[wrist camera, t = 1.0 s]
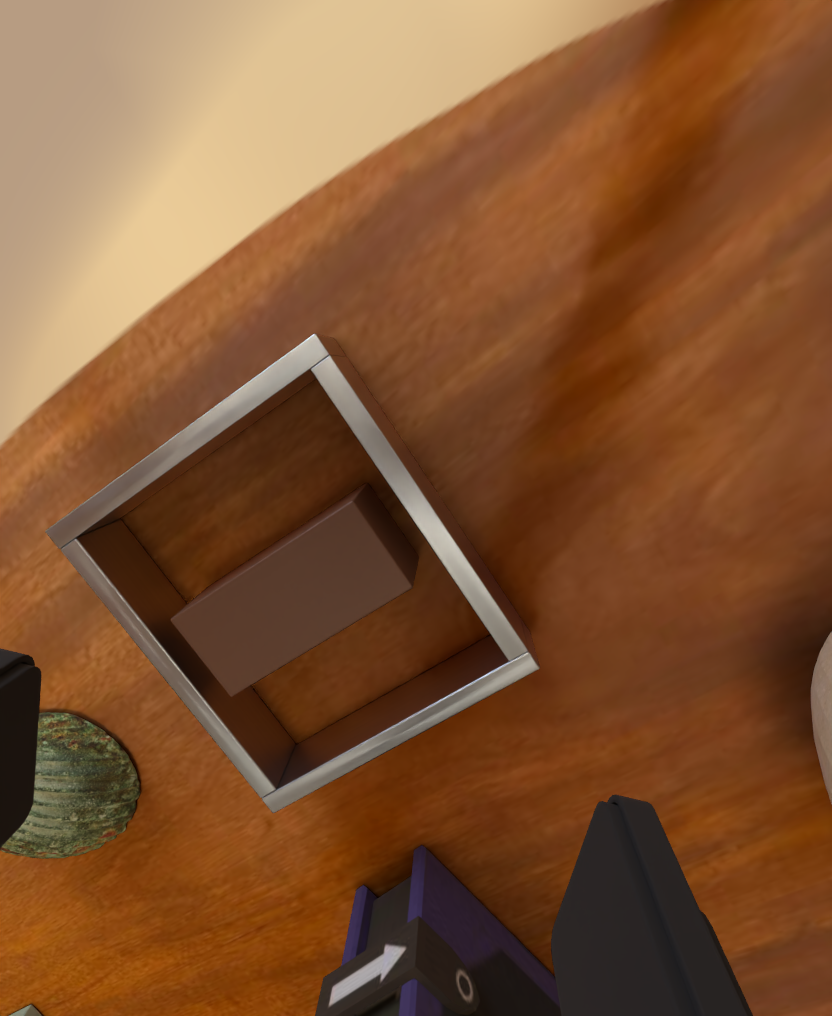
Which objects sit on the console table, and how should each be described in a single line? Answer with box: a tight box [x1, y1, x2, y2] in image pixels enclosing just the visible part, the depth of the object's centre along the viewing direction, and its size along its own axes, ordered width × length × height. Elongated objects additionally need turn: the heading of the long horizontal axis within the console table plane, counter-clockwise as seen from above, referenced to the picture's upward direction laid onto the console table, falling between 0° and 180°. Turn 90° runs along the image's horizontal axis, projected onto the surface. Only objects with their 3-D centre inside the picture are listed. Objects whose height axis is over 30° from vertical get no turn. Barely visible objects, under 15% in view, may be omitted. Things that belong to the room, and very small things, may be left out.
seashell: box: [0, 712, 140, 859], centre depth 31 cm, size 10×4×10 cm
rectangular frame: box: [45, 333, 540, 813], centre depth 27 cm, size 17×15×4 cm
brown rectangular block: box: [171, 483, 419, 697], centre depth 27 cm, size 4×10×4 cm, turn 124°
